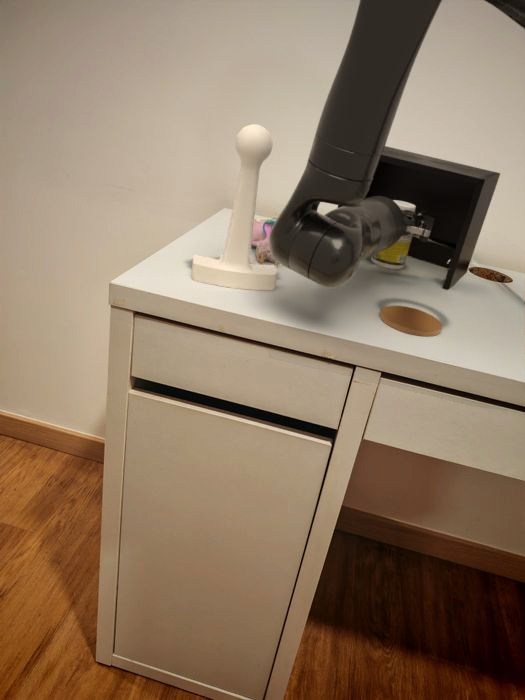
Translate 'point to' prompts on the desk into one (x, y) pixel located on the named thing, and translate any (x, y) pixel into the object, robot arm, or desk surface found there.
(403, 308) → the cork trivet
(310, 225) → the robot arm
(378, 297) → the desk surface
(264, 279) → the joystick
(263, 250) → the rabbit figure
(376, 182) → the black open shelf
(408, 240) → the supplement bottle
